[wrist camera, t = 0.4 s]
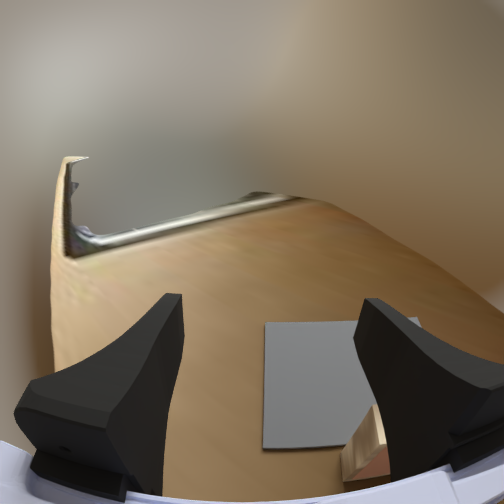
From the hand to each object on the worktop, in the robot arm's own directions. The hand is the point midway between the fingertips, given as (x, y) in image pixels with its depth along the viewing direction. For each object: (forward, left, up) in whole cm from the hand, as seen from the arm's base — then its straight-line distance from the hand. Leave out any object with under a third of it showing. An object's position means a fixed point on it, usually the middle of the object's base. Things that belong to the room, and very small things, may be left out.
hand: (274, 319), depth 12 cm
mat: (+9, -10, -19) cm, 23 cm away
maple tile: (-1, -10, -19) cm, 21 cm away
